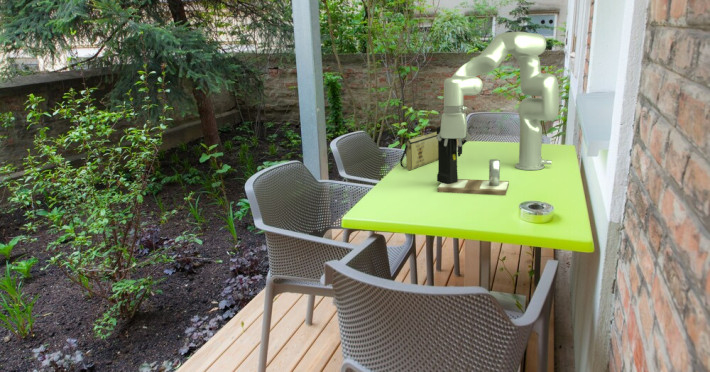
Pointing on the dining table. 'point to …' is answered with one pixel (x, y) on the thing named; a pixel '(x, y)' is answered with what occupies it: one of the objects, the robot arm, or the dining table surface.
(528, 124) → the robot arm
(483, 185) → the board
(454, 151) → the portable radio
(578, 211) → the dining table surface
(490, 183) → the pin
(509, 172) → the dining table surface
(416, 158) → the clutch purse
